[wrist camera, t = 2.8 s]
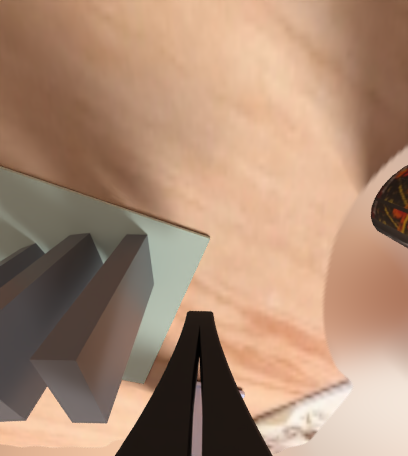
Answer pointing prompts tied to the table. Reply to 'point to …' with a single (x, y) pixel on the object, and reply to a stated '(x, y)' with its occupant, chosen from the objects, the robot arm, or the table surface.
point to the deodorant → (393, 208)
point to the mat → (103, 247)
